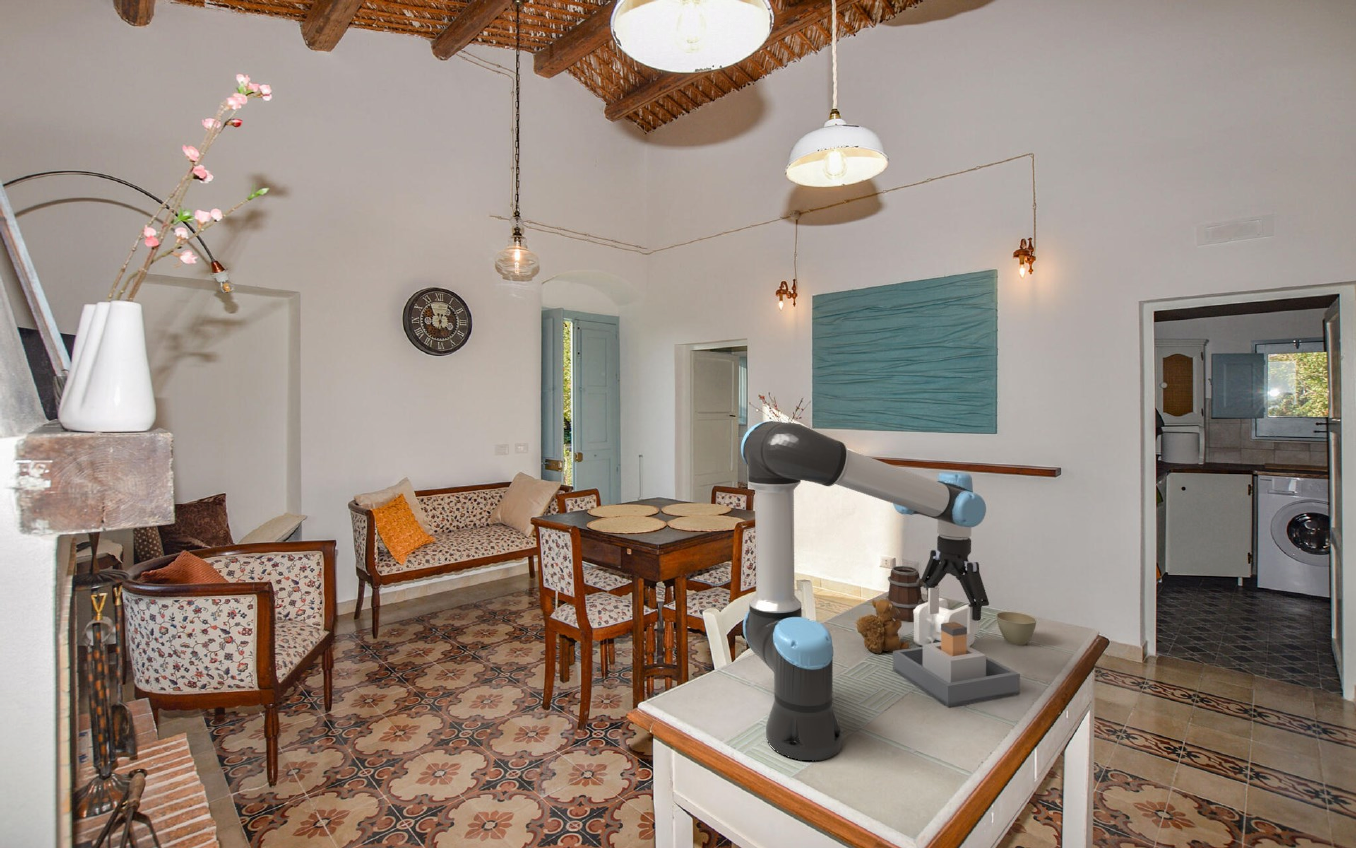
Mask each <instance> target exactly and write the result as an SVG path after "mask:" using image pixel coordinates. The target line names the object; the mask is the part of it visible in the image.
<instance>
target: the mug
mask: <svg viewBox="0 0 1356 848" xmlns="http://www.w3.org/2000/svg"><path fill="white" fill-rule="evenodd" d="M887 581H888V582H889V587H888V588H889V589H888V595H886V597H885V599H887V600H889V601H891V602H892V603H893V605H894V607H896V608H897V609H896V610H897V612H896V610H895V613H894V616H893V620H894V621H895V620H897V619H899V620H901V622H909V623H911V622H913V623H914V614H913V610H915V608H916V607H917V606H918V605H921V604H923V603H926V602H928V599H926V600H924V599H923V595H922V587H923V589H925V591H927V586H926V584H925V583H922V581H921V578H920V572H919V570H918V569H917V568H916V567H913V566H905V565H902V566H901V565H900V566H899V565H898V566H894V567H892V568H891V570H890V576H888V577H887ZM898 611H899V612H900V613H899V612H898ZM897 613H898V614H897Z"/></svg>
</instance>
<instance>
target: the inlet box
mask: <svg viewBox="0 0 1356 848" xmlns="http://www.w3.org/2000/svg"><path fill="white" fill-rule="evenodd" d="M892 659H893V660H892V671H893V672H895V673H896V674H898V675H899V676H901V677H902V678H904V680H906V681H908V682H909V683H911V684H912V685H914V686H915V687H917V688H918V689H920V690H921V691H922V692H924V693H926V694H927V695H929V696H930V697H931V698H932V699H934V700H936V701H937V702H938V703H940V704H941V705H943V706H945V707H946V708H949V709H950V708H955V707H960V706H967V705H971V704H977V703H982V702H987V701H992V700H993V701H994V700H999V699H1004V698H1009V697H1015V696H1020V695H1021V694H1020V693H1021V692H1020V691H1021V687H1020V685H1021V683H1020V682H1021V674H1020V673H1019V672H1017V671H1015V670H1013V669H1012V668H1010V667H1008V666H1006V665H1004V664H1002V663H1001V662H998V661H996V660H994V659H992V658H991V657H989V656H987V655H986V654H984V653H982V652H980V651H979V650H977V649H975V648H973V647H971V646H970V647H969V646H967V654H964V655H957V656H951V655H949V654H947V653H945V652H944V651H942V650H941V641H937V642H933V643H931V642H930V643H929V644H923V646H919V647H918V646H917V647H910V648H909V649H904V650H897V651H893V652H892Z"/></svg>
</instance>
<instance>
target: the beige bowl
mask: <svg viewBox="0 0 1356 848" xmlns="http://www.w3.org/2000/svg"><path fill="white" fill-rule="evenodd" d="M995 617H996V622H997V625H998V626H997V627H998V629H999V630H1000V633H1001V636H1002V637H1003V638H1004V640H1005V642H1006V643H1008V644H1011V645H1014V646H1025V645H1027V644H1028V642H1030V640H1031V638H1032V636H1033V634H1034V632H1035V629H1036V625H1037V619H1036V618H1035V617H1034V616H1032V615H1030V614H1027V613H1023V612H1016V611H1000V612H999V611H998V612H997V613H996V615H995Z"/></svg>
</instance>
